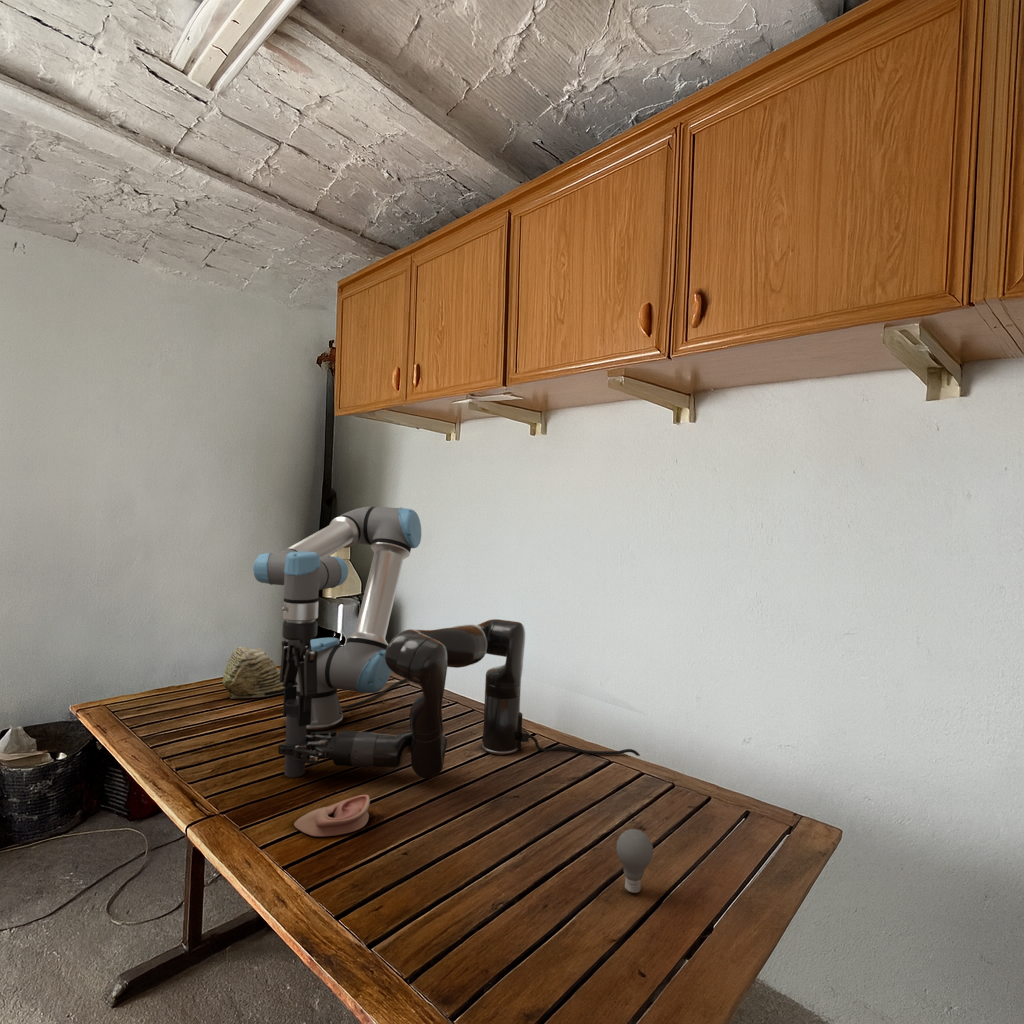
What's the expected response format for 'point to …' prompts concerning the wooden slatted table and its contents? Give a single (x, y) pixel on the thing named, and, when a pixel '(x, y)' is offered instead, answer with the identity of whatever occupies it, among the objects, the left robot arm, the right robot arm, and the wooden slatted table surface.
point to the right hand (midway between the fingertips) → (284, 744)
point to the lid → (292, 706)
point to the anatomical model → (336, 818)
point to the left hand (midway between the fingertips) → (296, 720)
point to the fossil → (251, 674)
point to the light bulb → (634, 857)
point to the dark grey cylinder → (296, 737)
